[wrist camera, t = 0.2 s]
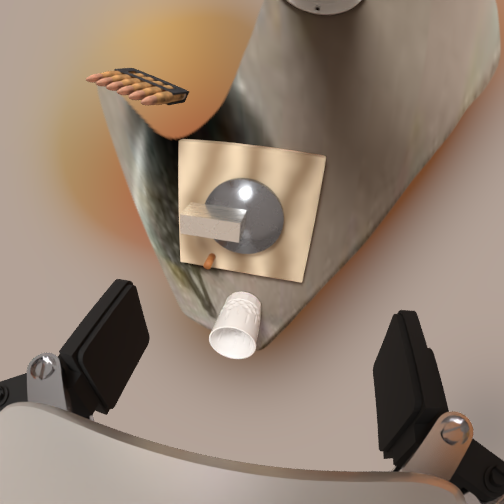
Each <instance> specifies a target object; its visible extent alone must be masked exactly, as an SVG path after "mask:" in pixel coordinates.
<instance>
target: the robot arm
mask: <svg viewBox="0 0 504 504" xmlns="http://www.w3.org/2000/svg"><path fill="white" fill-rule="evenodd" d="M286 1H287V2H289V3H290V4H291V5H293V6H294V7H296V8H298V9H300V10H302V11H305V12H308V13H312V14H318V15H334V14H339V13H343V12H346V11H348V10H350V9H352V8H354V7H355V6H356V5H357V4H359V2H360V1H361V0H286ZM316 8H319V9H320V10H319V11H317V10H316ZM148 343H149V333H148V329H147V326H146V322H145V319H144V315H143V311H142V308H141V304H140V300H139V296H138V292H137V289H136V286H134V285H133V283H132V282H131V281H127V280H121V279H116V280H115V281H114V282H113V284H112V285H111V286H110V287H109V288H108V290H107V291H106V292H105V293H104V295H103V296H102V297H101V298H100V299H99V301H98V302H97V303H96V304H95V305H94V307H93V308H92V309H91V311H90V312H89V313H88V314H87V316H86V317H85V318H84V319H83V321H82V322H81V323H80V324H79V326H78V327H77V328H76V330H75V331H74V332H73V334H72V335H71V336H70V338H69V339H68V340H67V342H66V343H65V344H64V346H63V347H62V348H61V350H60V351H59V352H60V355H59V356H58V357H57V356H56V355H54V354H52V353H43V354H40V355H38V356H36V357H35V358H33V359H32V361H31V362H30V363H29V365H28V368H27V373H25V374H23V375H19V376H16V377H13V378H10V379H7V380H4V381H1V382H0V504H504V461H502V460H501V459H500V458H498V457H497V456H496V455H494V454H493V453H492V452H490V451H489V450H487V449H486V448H485V447H483V446H482V445H481V444H479V443H478V442H477V441H475V440H474V439H473V426H472V423H471V422H470V420H469V419H468V418H467V417H466V416H465V415H463V414H462V413H459V412H455V411H451V412H449V411H448V406H447V402H446V398H445V394H444V390H443V386H442V382H441V378H440V374H439V371H438V367H437V363H436V360H435V357H434V353H433V351H432V350H431V349H430V348H427V345H426V341H425V338H424V335H423V332H422V329H421V325H420V322H419V319H418V316H417V313H416V312H415V311H406V310H400V311H399V312H398V314H394V315H393V317H392V320H391V323H390V325H389V328H388V330H387V333H386V336H385V339H384V341H383V343H382V346H381V348H380V351H379V353H378V356H377V358H376V361H375V363H374V367H373V377H374V386H375V397H376V408H377V423H378V439H379V450H380V451H383V453H384V459H387V458H393V464H394V465H395V467H394V468H393V469H392V471H391V472H347V471H318V470H303V469H291V468H281V467H273V466H265V465H257V464H250V463H244V462H238V461H232V460H226V459H221V458H216V457H211V456H207V455H202V454H197V453H193V452H189V451H185V450H181V449H177V448H173V447H169V446H166V445H162V444H159V443H155V442H152V441H149V440H146V439H142V438H139V437H136V436H133V435H130V434H127V433H124V432H121V431H118V430H115V429H113V428H110V427H107V426H104V425H102V424H99V423H96V422H94V419H93V413H94V411H95V410H96V411H98V412H101V413H103V414H106V415H107V414H108V412H109V410H110V409H113V408H114V407H115V405H116V403H117V401H118V399H119V397H120V395H121V394H122V392H123V390H124V388H125V386H126V384H127V382H128V380H129V378H130V377H131V375H132V373H133V371H134V369H135V367H136V365H137V364H138V362H139V360H140V358H141V356H142V354H143V353H144V350H145V349H146V347H147V345H148Z"/></svg>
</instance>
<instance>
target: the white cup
mask: <svg viewBox="0 0 504 504" xmlns="http://www.w3.org/2000/svg"><path fill="white" fill-rule="evenodd" d="M261 310H262V309H261V303H260V301H259V300H258V299H257V297H255V296H254V295H252V294H250V293H247V292H242V291H240V292H235V293H233V294H231V295H230V296H229V297H228V298H227V300H226V303H225V305H224V306H223V308H222V310H221V312H220V314H219V316H218V318H217V320H216V322H215V324H214V327H213V329H212V331H211V333H210V336H209V342H210V344H211V346H212V347H213V349H214V350H215V351H217V352H218V353H219V354H221V355H223V356H225V357H228V358H232V359H243V358H247V357H249V356H251V355H252V354H253V353H254V352H255V350H256V345H257V338H258V332H259V325H260V315H261Z"/></svg>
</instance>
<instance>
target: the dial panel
mask: <svg viewBox="0 0 504 504" xmlns="http://www.w3.org/2000/svg"><path fill="white" fill-rule="evenodd" d="M325 161H326V156H324V155H318V154H312V153H306V152H299V151H293V150H286V149H279V148H272V147H264V146H256V145H247V144H238V143H228V142H218V141H206V140H193V139H181V140H179V232H180V257H181V262H186V263H191V264H197V265H202V266H204V268H205V269H210V268H211V267H214V268H219V269H225V270H231V271H236V272H242V273H248V274H254V275H259V276H265V277H271V278H277V279H283V280H289V281H295V282H301V283H302V280H303V276H304V271H305V266H306V262H307V257H308V252H309V247H310V242H311V237H312V232H313V227H314V222H315V217H316V212H317V206H318V201H319V196H320V190H321V185H322V179H323V173H324V167H325ZM234 178H249V179H253V180H256V181H259V182H261V183H263V184H265V185H266V186H268V187H269V188H270V189H271V190H272V191H273V192H274V193H275V194H276V196H277V197H278V198H279V200H280V202H281V205H282V207H283V212H284V223H283V228H282V231H281V234H280V236H279V238H278V239H277V240H276V242H275V243H274V244H273V245H272V246H270V247H269V248H267V249H266V250H264V251H261V252H258V253H253V254H241V253H236V252H233V251H230V250H228V249H226V248H224V247H222V246H221V245H220V244H218V243H217V242H216V241H215V240H214V239H212V238H206V237H200V236H193V235H187V234H181V230H180V214H181V213H182V212H183V211H184V209H185V208H186V207H187V206H188V205H189V204H190V203H191V202H192V203H200V204H205V202H206V200H207V198H208V196H209V195H210V193H211V192H212V191H213V190H214V189H215V188H216V187H217V186H218V185H219V184H221V183H223V182H225V181H227V180H230V179H234Z"/></svg>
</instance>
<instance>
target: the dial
mask: <svg viewBox="0 0 504 504" xmlns="http://www.w3.org/2000/svg"><path fill="white" fill-rule="evenodd" d="M283 223H284V212H283V207H282V205H281V202H280V200H279V198H278V197H277V196H276V194H275V193H274V192H273V191H272V190H271V189H270V188H269V187H268V186H266V185H265V184H263V183H261V182H259V181H256V180H253V179H249V178H234V179H230V180H227V181H225V182H223V183H221V184H219V185H218V186H217V187H216V188H215V189H214V190H213V191H212V192H211V193H210V195H209V196H208V198H207V200H206V202H205V204H200V203H192V202H191V203H190V204H189V205H188V206H187V207H186V208H185V209H184V211H183V212H182V213H181V214H180V230H181V234H187V235H193V236H200V237H206V238H212V239H214V240H215V241H216V242H217V243H218V244H220V245H221V246H222V247H224V248H226V249H228V250H230V251H233V252H236V253H241V254H253V253H258V252H261V251H264V250H266V249H267V248H269V247H270V246H272V245H273V244H274V243H275V242H276V240H277V239H278V238H279V236H280V234H281V231H282V228H283Z"/></svg>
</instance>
